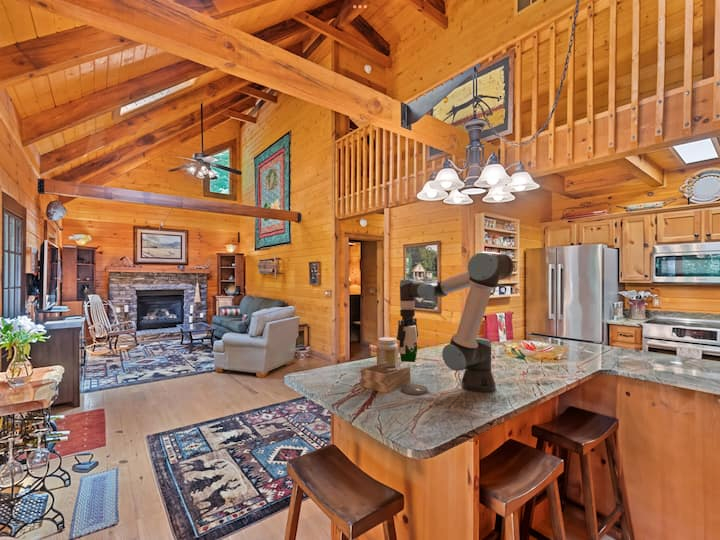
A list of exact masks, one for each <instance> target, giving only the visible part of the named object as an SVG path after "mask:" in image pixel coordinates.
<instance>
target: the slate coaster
mask: <svg viewBox="0 0 720 540" xmlns="http://www.w3.org/2000/svg"><path fill="white" fill-rule="evenodd" d="M428 390H429V389H428V387H427V386H426V385H422V384H414V383H412V384H411V383H409V384H407V385H404V386H402V387H400V391H401V392H402V393H404V394H407V395H411V396H413V395H414V396H419V395H420V396H421V395H425V394H427V393H428V392H429V391H428Z"/></svg>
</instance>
